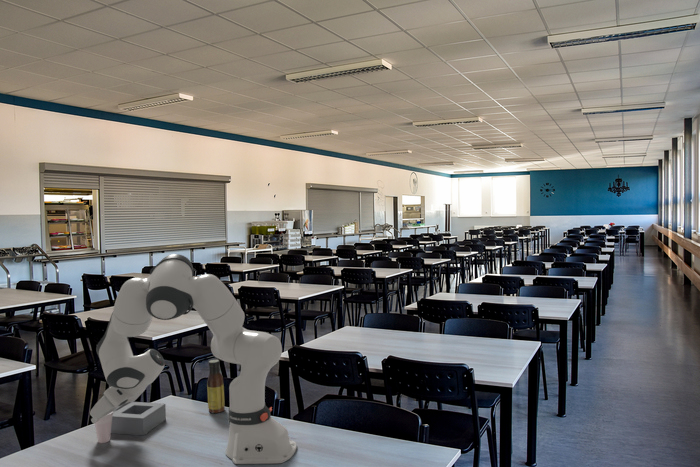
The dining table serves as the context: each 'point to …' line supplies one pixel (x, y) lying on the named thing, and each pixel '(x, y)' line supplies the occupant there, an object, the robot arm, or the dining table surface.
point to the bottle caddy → (138, 418)
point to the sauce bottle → (215, 388)
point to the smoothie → (104, 428)
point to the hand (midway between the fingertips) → (102, 415)
